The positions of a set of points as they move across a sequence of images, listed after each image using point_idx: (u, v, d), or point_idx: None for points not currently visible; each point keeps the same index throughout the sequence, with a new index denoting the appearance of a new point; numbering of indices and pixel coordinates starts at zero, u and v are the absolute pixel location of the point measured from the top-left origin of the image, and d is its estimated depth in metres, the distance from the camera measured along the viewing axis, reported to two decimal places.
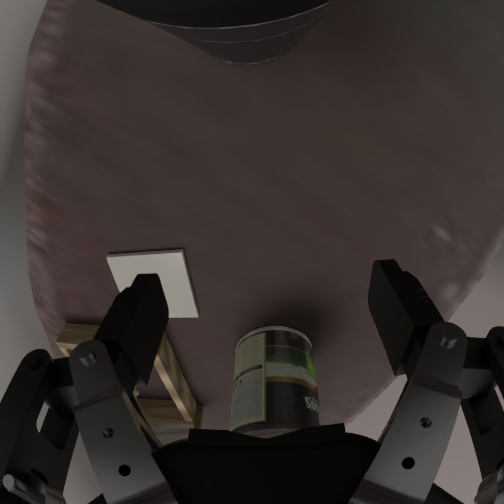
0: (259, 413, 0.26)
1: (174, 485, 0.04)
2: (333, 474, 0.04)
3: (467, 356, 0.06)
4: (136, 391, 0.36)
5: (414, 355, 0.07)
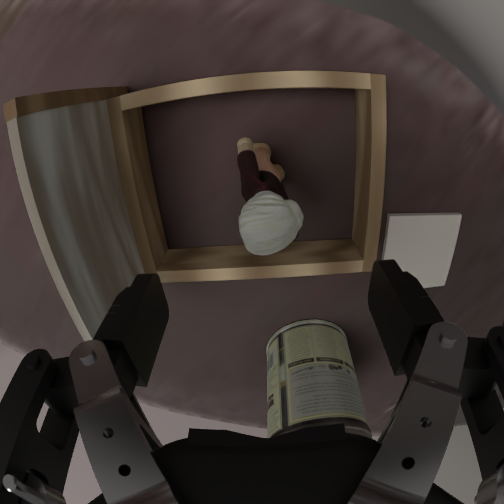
0: None
1: (174, 485, 0.04)
2: (333, 474, 0.04)
3: (467, 356, 0.06)
4: None
5: (414, 355, 0.07)
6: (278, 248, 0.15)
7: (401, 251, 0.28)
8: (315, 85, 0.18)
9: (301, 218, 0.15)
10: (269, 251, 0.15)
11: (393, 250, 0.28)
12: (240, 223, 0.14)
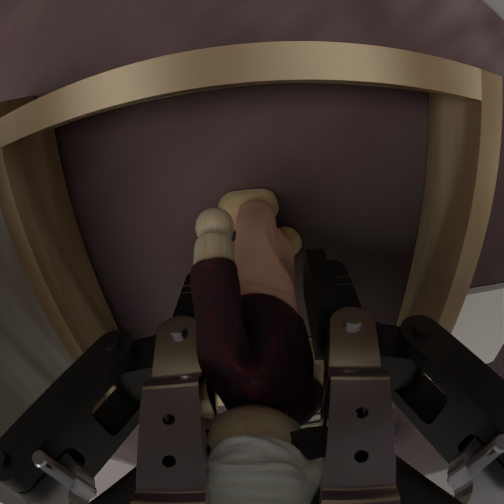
0: None
1: None
2: None
3: (378, 343, 0.07)
4: None
5: (325, 339, 0.08)
6: None
7: (456, 336, 0.17)
8: (384, 79, 0.07)
9: None
10: None
11: None
12: None
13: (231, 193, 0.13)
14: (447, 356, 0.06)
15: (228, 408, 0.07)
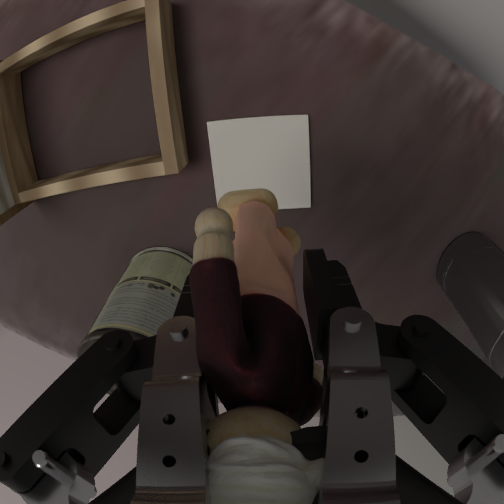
0: None
1: None
2: None
3: (378, 343, 0.07)
4: None
5: (324, 339, 0.08)
6: None
7: (232, 161, 0.27)
8: (101, 19, 0.17)
9: None
10: None
11: (221, 160, 0.27)
12: None
13: (230, 193, 0.13)
14: (447, 356, 0.06)
15: (228, 409, 0.07)
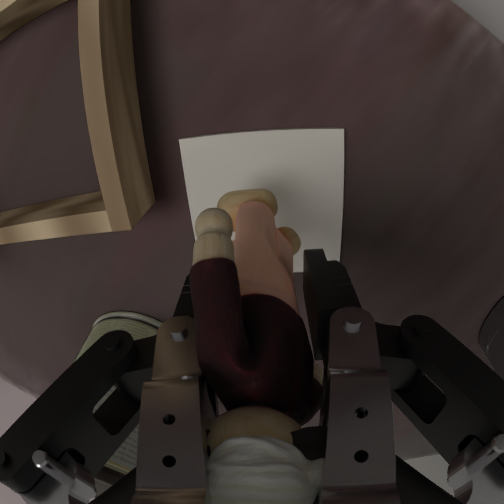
0: None
1: None
2: None
3: (378, 343, 0.07)
4: None
5: (325, 339, 0.08)
6: None
7: None
8: None
9: None
10: None
11: (203, 200, 0.17)
12: None
13: (230, 193, 0.13)
14: (447, 356, 0.06)
15: (228, 409, 0.07)
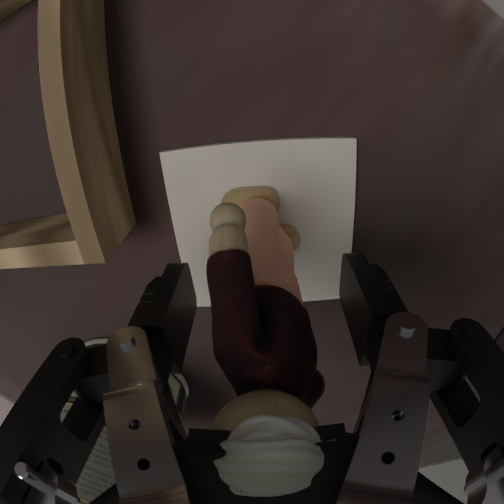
0: None
1: (191, 485, 0.04)
2: (333, 474, 0.04)
3: (429, 347, 0.07)
4: None
5: (375, 344, 0.08)
6: None
7: None
8: None
9: None
10: None
11: (190, 224, 0.15)
12: None
13: (235, 190, 0.13)
14: (488, 361, 0.05)
15: (239, 394, 0.07)
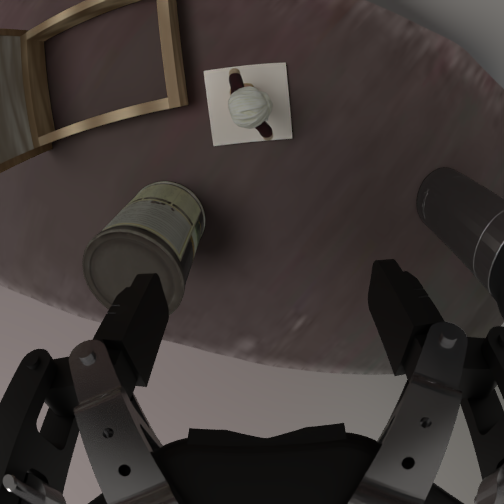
0: (179, 251, 0.27)
1: (174, 485, 0.04)
2: (333, 474, 0.04)
3: (467, 356, 0.06)
4: (271, 138, 0.27)
5: (414, 355, 0.07)
6: (254, 120, 0.20)
7: (224, 101, 0.30)
8: None
9: (271, 104, 0.21)
10: (248, 122, 0.20)
11: (215, 101, 0.30)
12: (229, 102, 0.20)
13: None
14: None
15: None
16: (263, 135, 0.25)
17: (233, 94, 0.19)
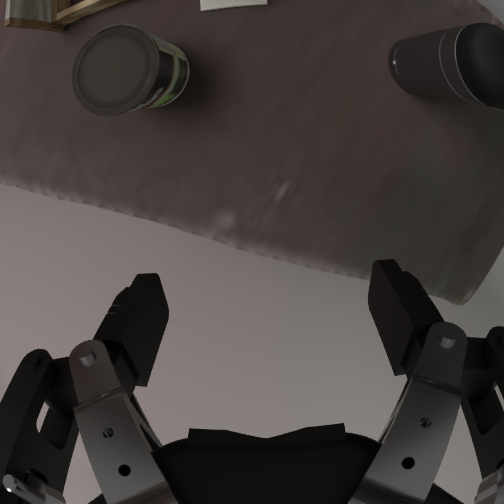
0: (160, 46, 0.24)
1: (174, 485, 0.04)
2: (333, 474, 0.04)
3: (467, 356, 0.06)
4: None
5: (414, 355, 0.07)
6: None
7: None
8: None
9: None
10: None
11: None
12: None
13: None
14: None
15: None
16: None
17: None
